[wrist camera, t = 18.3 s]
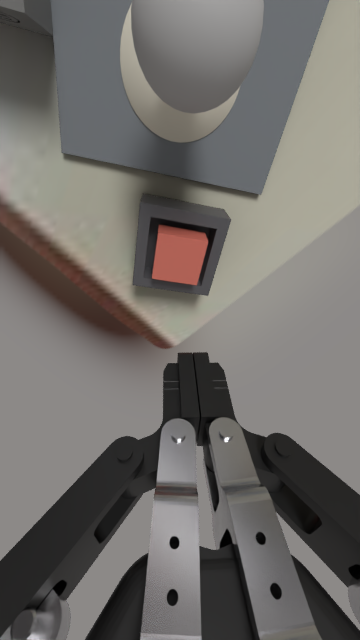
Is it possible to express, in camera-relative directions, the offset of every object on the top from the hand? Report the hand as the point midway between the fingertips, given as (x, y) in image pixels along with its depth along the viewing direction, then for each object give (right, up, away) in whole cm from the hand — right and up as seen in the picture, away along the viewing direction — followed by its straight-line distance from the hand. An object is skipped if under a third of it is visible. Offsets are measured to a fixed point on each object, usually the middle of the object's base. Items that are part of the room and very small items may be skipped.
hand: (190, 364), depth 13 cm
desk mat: (0, +21, +6) cm, 22 cm away
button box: (-1, +11, +14) cm, 18 cm away
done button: (-1, +9, +12) cm, 15 cm away
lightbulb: (0, +21, +5) cm, 22 cm away
